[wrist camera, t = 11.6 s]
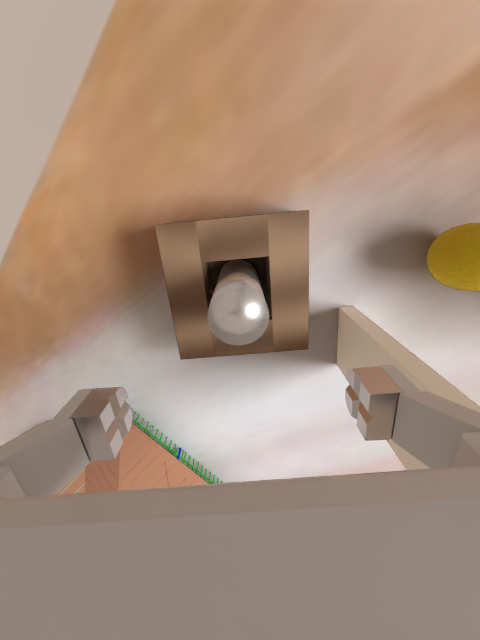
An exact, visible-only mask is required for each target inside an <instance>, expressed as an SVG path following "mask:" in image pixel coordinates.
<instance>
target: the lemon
mask: <svg viewBox="0 0 480 640" xmlns="http://www.w3.org/2000/svg"><path fill="white" fill-rule="evenodd" d="M427 266H428V269H429V271H430V273H431V274H432V276H433V277H434V278H435V279H437V280H438V281H439V282H441V283H442V284H444V285H447V286H449V287H452V288H455V289H459V290H469V291H480V223H470V224H464V225H460V226H457V227H454V228H451V229H449V230H447V231H446V232H444V233H442V234H441V235H440V236H439V237H438V238H436V239H435V241H434V242H433V243H432V244H431V246H430V248H429V250H428V254H427Z"/></svg>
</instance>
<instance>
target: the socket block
mask: <svg viewBox="0 0 480 640" xmlns="http://www.w3.org/2000/svg"><path fill="white" fill-rule="evenodd" d="M155 230H156V235H157V240H158V245H159V250H160V255H161V261H162V266H163V271H164V276H165V281H166V286H167V292H168V297H169V302H170V307H171V312H172V317H173V322H174V328H175V333H176V338H177V343H178V348H179V353H180V358H181V359H193V358H205V357H217V356H229V355H242V354H254V353H266V352H278V351H291V350H303V349H308V323H309V210H305V211H292V212H281V213H271V214H260V215H250V216H240V217H229V218H219V219H208V220H198V221H187V222H177V223H167V224H159V225H155ZM256 257H264V259H265V277H266V295H267V303H266V304H267V307H268V311H269V323H268V326H267V328H266V330H265V332H264V333H263V334H262V336H261V337H259V338H258V339H257V340H256V341H254V342H252V343H249V344H246V345H231V344H227V343H225V342H223V341H221V340H220V339H218V338H217V337H216V336H215V335H214V334H213V332H212V331H211V329H210V327H209V324H208V318H207V315H208V309H209V306H210V303H211V299H212V296H213V291H212V284H211V276H210V268H209V262H213V261H224V260H235V259H245V258H256Z"/></svg>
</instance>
